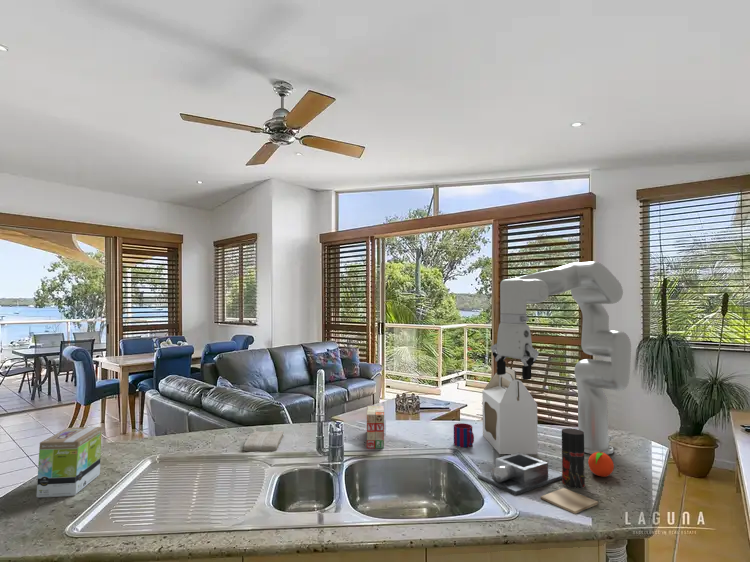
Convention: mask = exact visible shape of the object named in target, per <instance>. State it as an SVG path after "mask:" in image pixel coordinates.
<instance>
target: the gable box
mask: <svg viewBox="0 0 750 562" xmlns="http://www.w3.org/2000/svg"><path fill="white" fill-rule="evenodd" d="M495 368H496V369H497V366H496V367H495ZM481 394H482V396H481V397H482V435H483V437H484V438H485V439H486V440H487V441H488V443H489V444H490V445H491V446H492V447H493V448H494V450H495V451H496V452H497V453H498V454H499V455H500V454H514V453H518V452H520V453H522V454H525V455H538V454H539V453H538V452H539V449H538V448H539V446H538V445H539V444H538V442H539V441H538V439H539V437H538V436H539V435H538V403H537V402H536V400H535V399H534V398H533V396H532V394H531V393H530V392H529V390H528V389H527V387H526V385H525V384H524V382H522V380H520V379H517V372H516V370H514V369H512V368H511V367H508V366H506V374H503V375H497V372H495V373H494V375H493V376H492V378H491V379H490V380H489V382H488V383H487V385H485V387H484V389H483V390H482V393H481Z"/></svg>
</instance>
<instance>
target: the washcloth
mask: <svg viewBox="0 0 750 562" xmlns="http://www.w3.org/2000/svg"><path fill="white" fill-rule="evenodd" d="M284 434H285V433H284V431H283V430H272V431H269V430H255V431H252V433H250V434H249V436H248V438H246V441H245V443H244V445H243V452H256V451H259V452H261V451H262V452H264V451H265V452H269V451H271V452H272V451H277V450H278V449H279V446H280V444H281V441H282V439H283V437H284Z"/></svg>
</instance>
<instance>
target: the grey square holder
mask: <svg viewBox="0 0 750 562" xmlns="http://www.w3.org/2000/svg"><path fill="white" fill-rule="evenodd" d="M477 478H478V479H479V480H483V481H484V482H487V483H488V484H490V485H492V486H495V487H498V488H499V489H501V490H504V491H505V492H508V493H510V494H513V495H515V496H517V495H521V494H523V493H526V492H528V491H531V490H535V489H537V488H540V487H543V486H546V485H549V484H552V483H555V482H557V481H560V480H562V472H560V471H557V470H555V469H552V468H549V463H548V461H547V462H546V461H544V460H542V459H539V458H536V457H533V456H532V455H531V456H530V455H529V454H522V453H520V452H518V453H514V454H511V455H504V456H501V457H497V458H495V467H493V468H491V469H490V470H488V471H485V472H480V473H478V474H477ZM554 481H555V482H554Z"/></svg>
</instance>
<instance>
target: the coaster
mask: <svg viewBox="0 0 750 562" xmlns="http://www.w3.org/2000/svg"><path fill="white" fill-rule="evenodd" d="M540 499H541V500H543V501H545V502H548V503H550V504H552V505H554V506H557V507H559V508H561V509H563V510H565V511H568V512H569V513H572V514H575V515H576V514H578V513H580V512H583V511H584V510H587V509H590V508H591V507H595V506H597V505H599V501H597V500H595V499H592V498H590V497H588V496H585V495H583V494H580V493H578V492H576V491H573V490H570V489H568V488H566V487H562V488H560V489H557V490H554V491H551V492H549V493H547V494H543V495H541V496H540Z"/></svg>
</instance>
